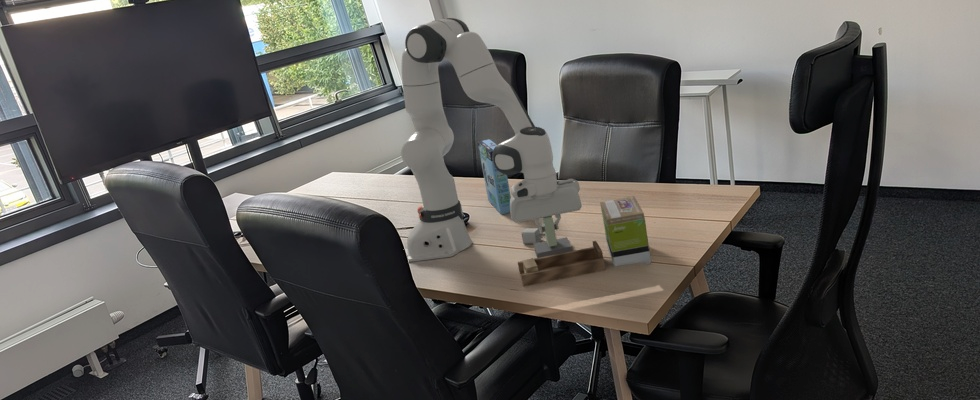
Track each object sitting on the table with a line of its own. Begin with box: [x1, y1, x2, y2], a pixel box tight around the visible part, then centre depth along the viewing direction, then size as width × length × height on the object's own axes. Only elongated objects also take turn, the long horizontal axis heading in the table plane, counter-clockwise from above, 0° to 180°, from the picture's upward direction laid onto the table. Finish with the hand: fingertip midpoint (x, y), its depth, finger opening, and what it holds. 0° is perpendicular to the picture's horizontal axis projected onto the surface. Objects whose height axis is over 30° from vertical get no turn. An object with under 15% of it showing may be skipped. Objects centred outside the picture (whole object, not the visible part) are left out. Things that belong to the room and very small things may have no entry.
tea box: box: [600, 195, 652, 267], centre depth 202 cm, size 15×10×15 cm
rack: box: [517, 240, 606, 287], centre depth 200 cm, size 22×10×6 cm, turn 93°
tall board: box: [541, 216, 557, 247], centre depth 213 cm, size 2×7×8 cm, turn 3°
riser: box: [533, 236, 573, 258], centre depth 214 cm, size 10×8×3 cm
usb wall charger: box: [521, 227, 546, 245], centre depth 227 cm, size 4×7×4 cm, turn 63°
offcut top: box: [521, 257, 538, 273], centre depth 199 cm, size 3×6×2 cm, turn 7°
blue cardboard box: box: [477, 138, 512, 215], centre depth 265 cm, size 20×5×23 cm, turn 12°
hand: (549, 230), depth 213 cm, fingers closed on tall board, 2 cm apart
